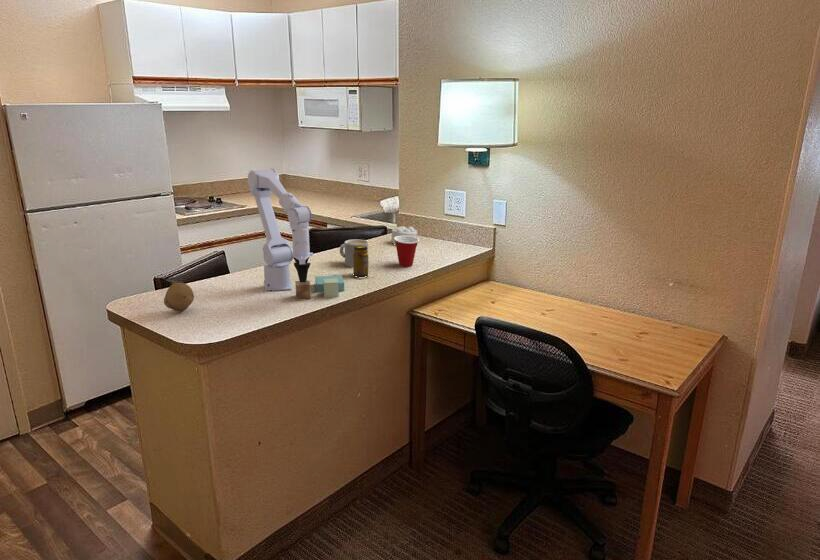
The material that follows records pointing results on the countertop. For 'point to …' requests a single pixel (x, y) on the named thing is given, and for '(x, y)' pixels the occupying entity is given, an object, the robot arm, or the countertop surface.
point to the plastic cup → (406, 249)
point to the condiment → (360, 262)
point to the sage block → (331, 287)
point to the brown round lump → (179, 297)
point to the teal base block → (320, 278)
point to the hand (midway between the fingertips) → (302, 278)
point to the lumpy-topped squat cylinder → (403, 232)
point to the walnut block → (303, 290)
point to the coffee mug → (351, 250)
